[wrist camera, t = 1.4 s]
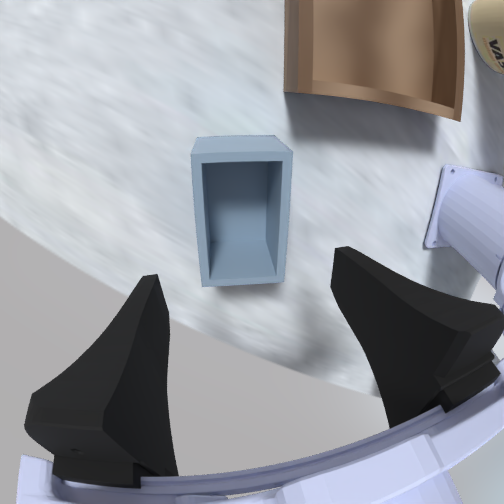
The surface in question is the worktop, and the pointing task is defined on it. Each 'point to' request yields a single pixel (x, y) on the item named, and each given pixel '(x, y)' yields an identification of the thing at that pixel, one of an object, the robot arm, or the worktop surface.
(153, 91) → the worktop surface
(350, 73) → the walnut crate
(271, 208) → the slate crate
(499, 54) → the coffee cup
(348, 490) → the robot arm
